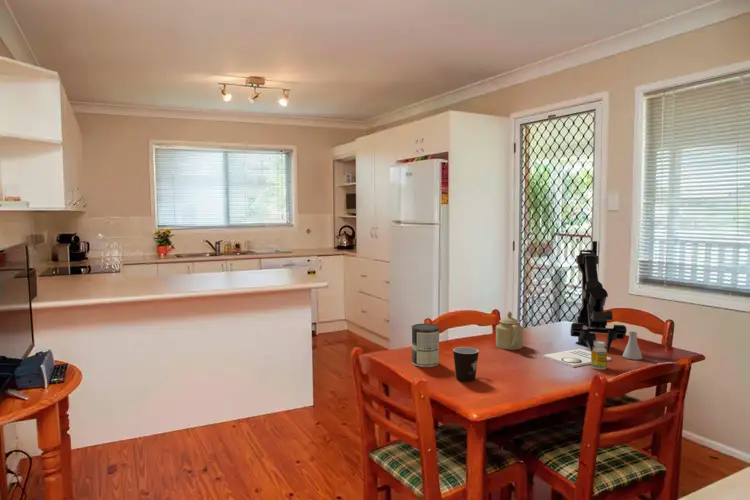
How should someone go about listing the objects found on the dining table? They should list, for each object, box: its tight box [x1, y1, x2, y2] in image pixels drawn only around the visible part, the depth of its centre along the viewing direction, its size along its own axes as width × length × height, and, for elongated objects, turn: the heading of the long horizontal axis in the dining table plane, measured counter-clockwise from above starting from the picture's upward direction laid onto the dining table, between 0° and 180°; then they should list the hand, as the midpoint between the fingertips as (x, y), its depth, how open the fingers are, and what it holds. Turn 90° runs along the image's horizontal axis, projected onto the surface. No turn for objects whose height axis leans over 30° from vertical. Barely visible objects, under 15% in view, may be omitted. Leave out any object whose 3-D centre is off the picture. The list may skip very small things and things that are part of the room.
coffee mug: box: [452, 346, 480, 383], centre depth 179 cm, size 12×9×10 cm
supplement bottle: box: [590, 340, 608, 371], centre depth 190 cm, size 5×5×10 cm
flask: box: [622, 331, 643, 361], centre depth 202 cm, size 7×7×10 cm
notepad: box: [542, 348, 612, 368], centre depth 202 cm, size 15×20×1 cm
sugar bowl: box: [495, 311, 524, 351], centre depth 218 cm, size 15×11×15 cm
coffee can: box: [411, 323, 440, 368], centre depth 196 cm, size 10×10×14 cm
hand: (599, 350), depth 188 cm, fingers closed on supplement bottle, 5 cm apart
